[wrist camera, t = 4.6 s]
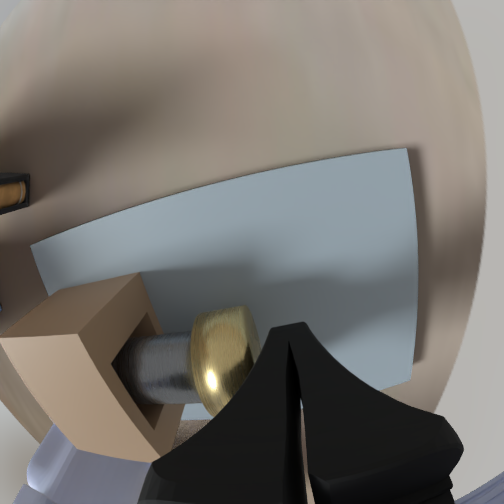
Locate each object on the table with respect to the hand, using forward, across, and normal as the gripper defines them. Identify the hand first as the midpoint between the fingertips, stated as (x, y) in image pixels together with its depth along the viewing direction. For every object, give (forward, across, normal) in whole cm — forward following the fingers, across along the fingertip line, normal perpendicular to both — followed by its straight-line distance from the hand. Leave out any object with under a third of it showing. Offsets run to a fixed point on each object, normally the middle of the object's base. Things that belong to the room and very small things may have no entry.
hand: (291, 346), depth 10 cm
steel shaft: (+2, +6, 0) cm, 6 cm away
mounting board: (+3, +3, 0) cm, 4 cm away
